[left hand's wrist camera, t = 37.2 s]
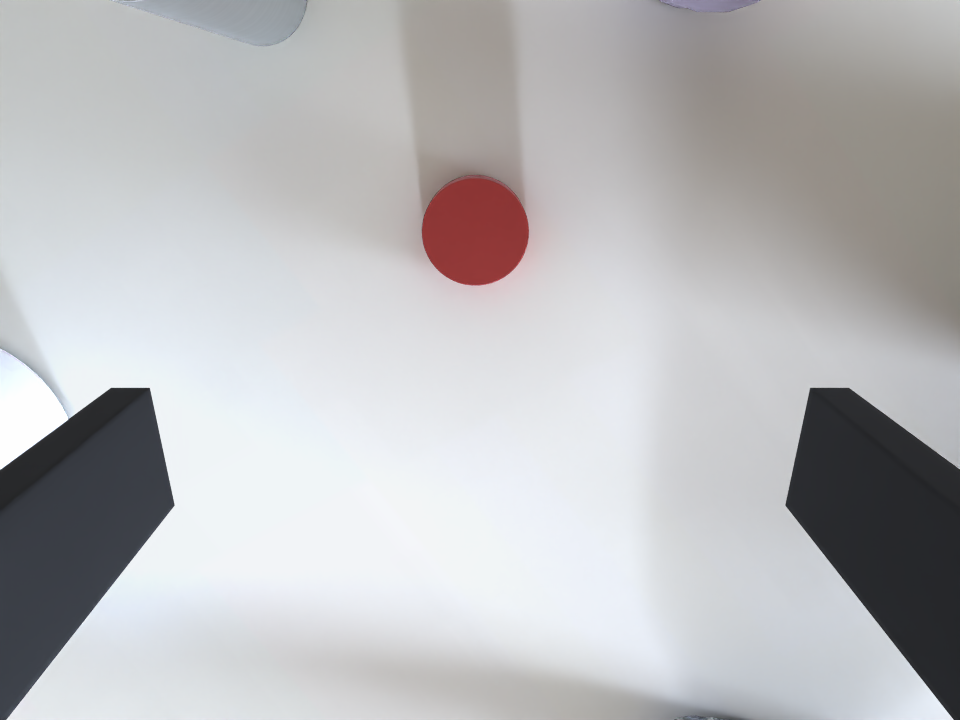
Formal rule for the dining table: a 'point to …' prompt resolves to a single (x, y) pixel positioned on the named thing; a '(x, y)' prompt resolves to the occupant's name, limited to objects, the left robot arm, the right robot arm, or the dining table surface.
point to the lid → (475, 230)
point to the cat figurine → (710, 4)
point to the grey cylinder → (232, 17)
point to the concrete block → (697, 718)
